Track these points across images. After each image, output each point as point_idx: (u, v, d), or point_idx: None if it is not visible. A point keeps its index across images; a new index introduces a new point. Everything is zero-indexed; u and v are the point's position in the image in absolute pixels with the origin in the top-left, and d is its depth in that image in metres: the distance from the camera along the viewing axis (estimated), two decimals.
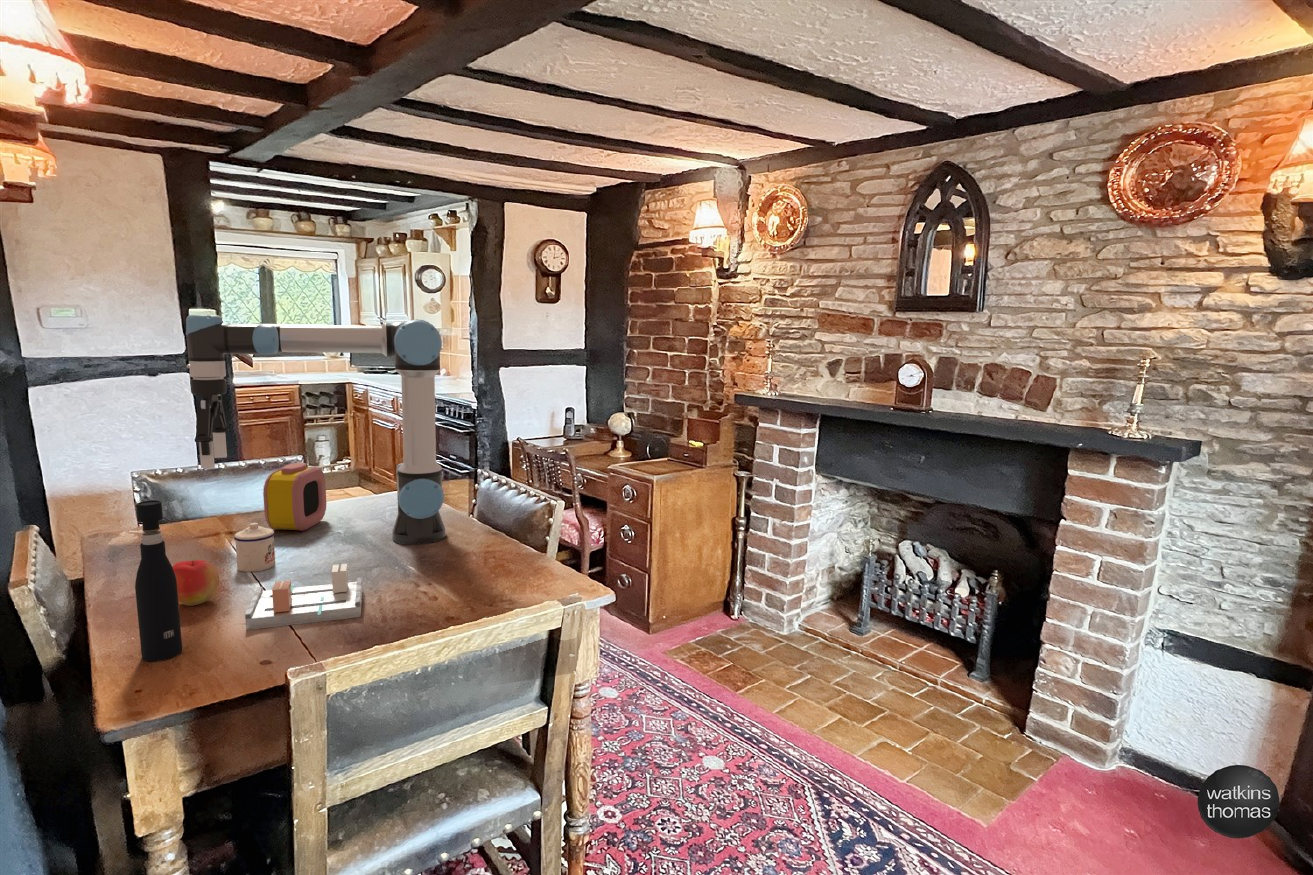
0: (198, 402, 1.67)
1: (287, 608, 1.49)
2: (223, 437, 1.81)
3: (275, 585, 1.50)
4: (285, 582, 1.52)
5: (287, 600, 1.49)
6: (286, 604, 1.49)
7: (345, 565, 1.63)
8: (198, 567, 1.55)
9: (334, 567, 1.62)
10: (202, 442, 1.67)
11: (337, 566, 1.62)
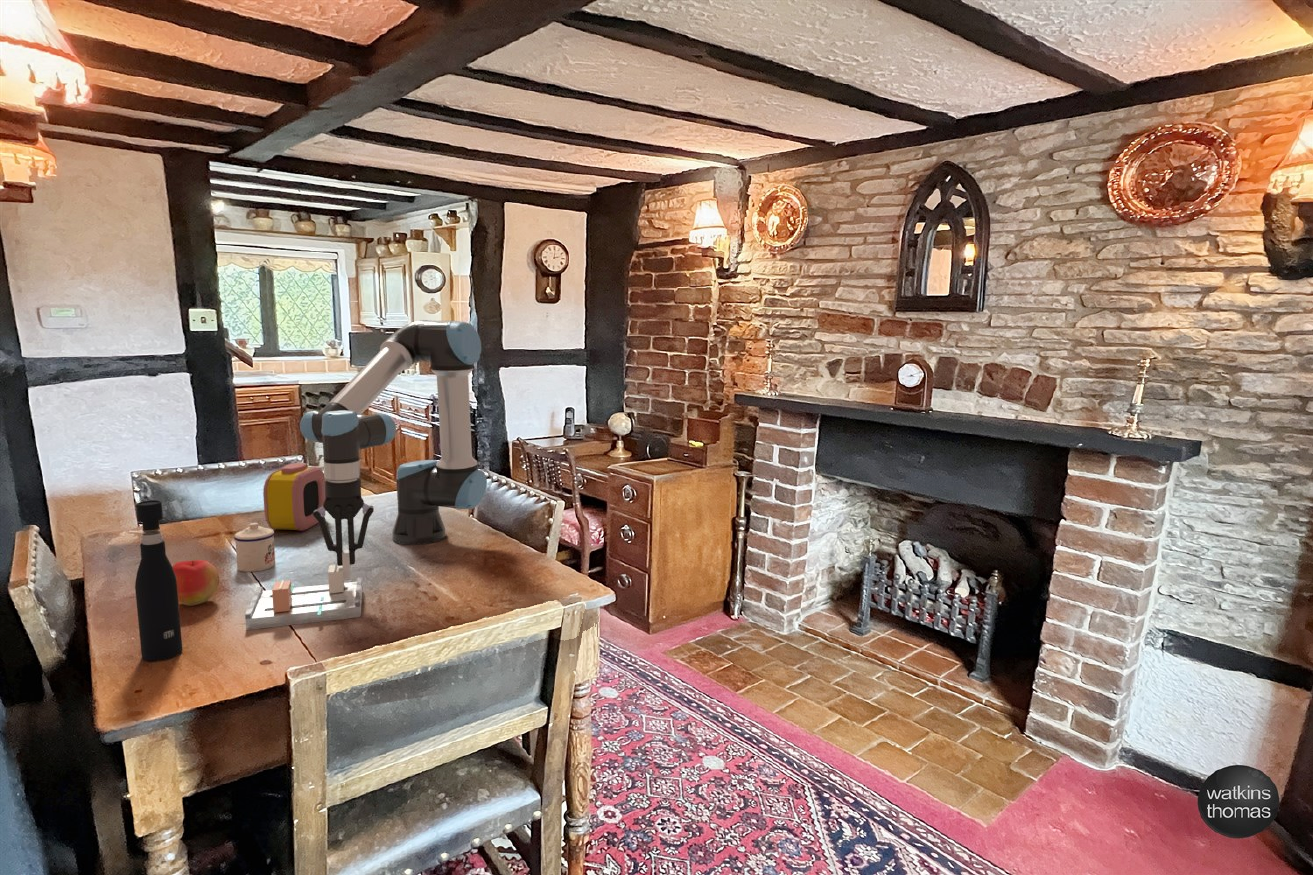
0: None
1: (287, 608, 1.49)
2: None
3: (275, 585, 1.50)
4: (285, 582, 1.52)
5: (287, 600, 1.49)
6: (286, 604, 1.49)
7: None
8: (198, 567, 1.55)
9: (330, 567, 1.61)
10: None
11: (333, 566, 1.62)
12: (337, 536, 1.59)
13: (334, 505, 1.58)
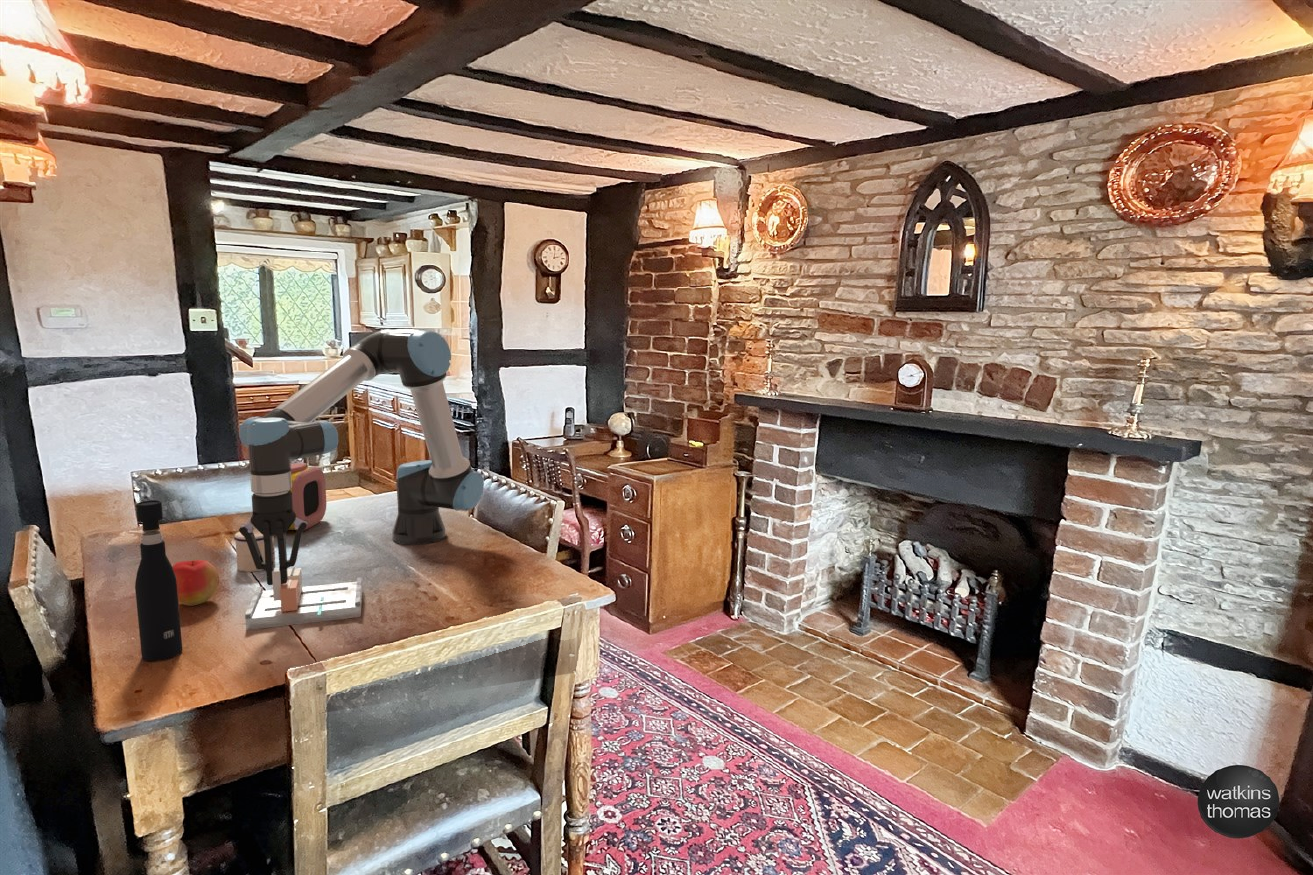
0: None
1: (295, 607, 1.50)
2: None
3: (283, 584, 1.51)
4: (293, 581, 1.52)
5: (295, 599, 1.49)
6: (294, 603, 1.49)
7: (299, 569, 1.60)
8: (198, 567, 1.55)
9: (287, 571, 1.58)
10: None
11: (290, 570, 1.59)
12: (266, 553, 1.47)
13: (262, 520, 1.46)
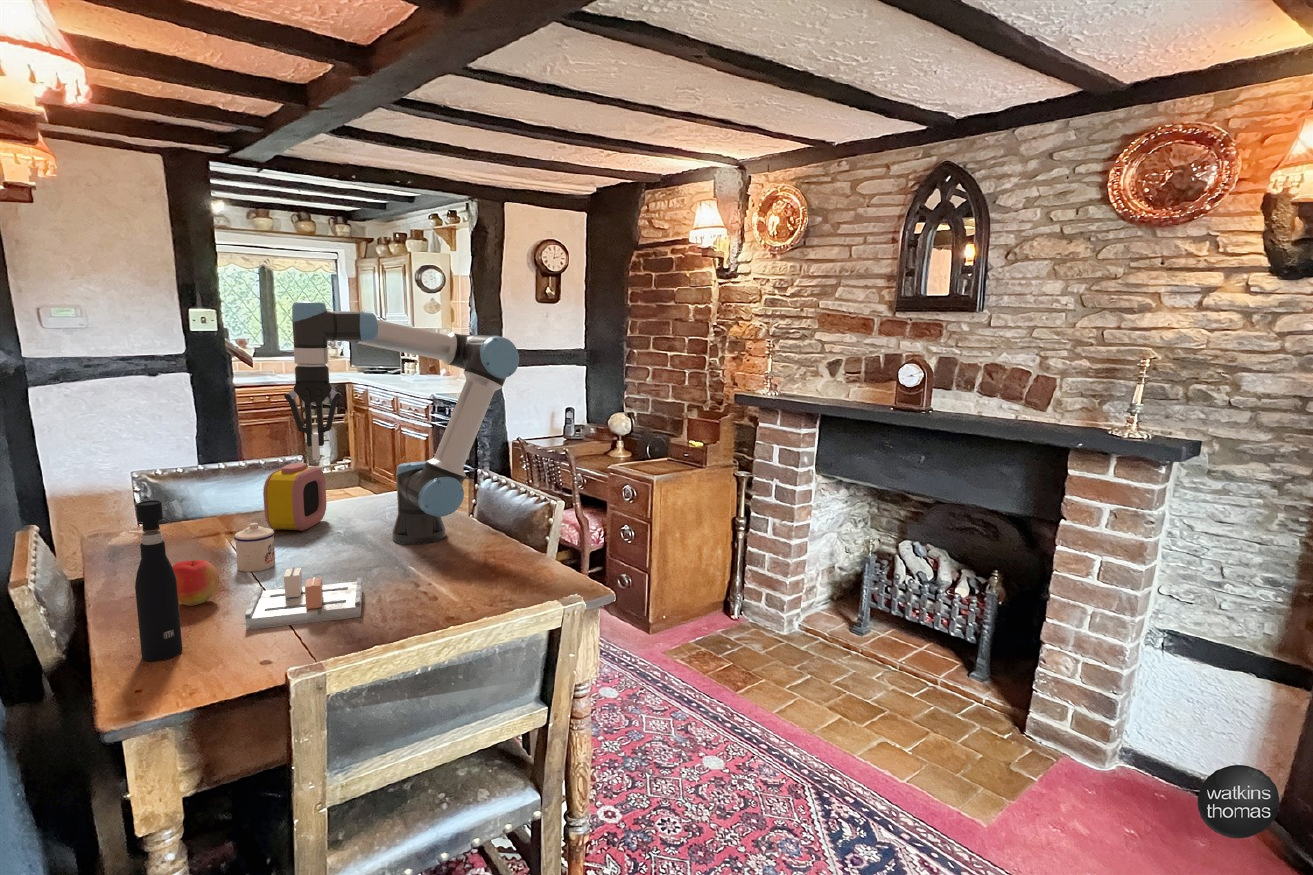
0: None
1: (319, 605, 1.51)
2: None
3: (307, 582, 1.52)
4: (317, 579, 1.54)
5: (319, 597, 1.51)
6: (318, 601, 1.51)
7: (299, 569, 1.60)
8: (198, 567, 1.55)
9: (287, 571, 1.58)
10: (306, 433, 1.75)
11: (290, 570, 1.59)
12: (307, 418, 1.73)
13: (304, 389, 1.72)
